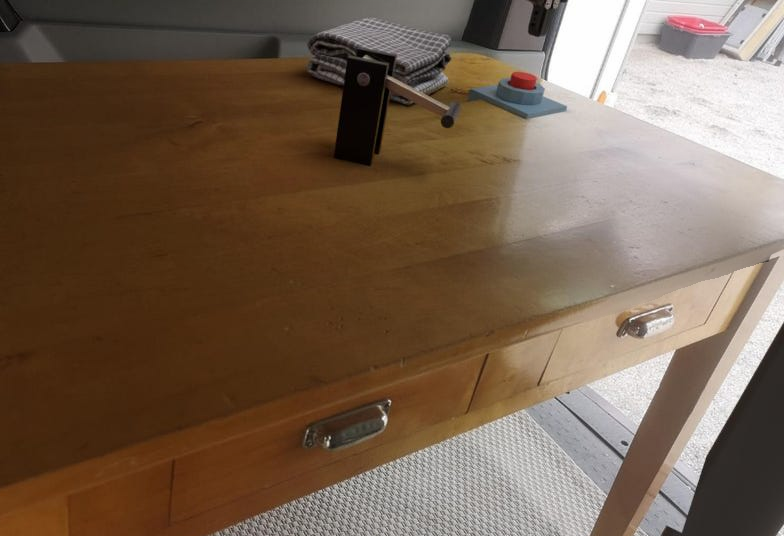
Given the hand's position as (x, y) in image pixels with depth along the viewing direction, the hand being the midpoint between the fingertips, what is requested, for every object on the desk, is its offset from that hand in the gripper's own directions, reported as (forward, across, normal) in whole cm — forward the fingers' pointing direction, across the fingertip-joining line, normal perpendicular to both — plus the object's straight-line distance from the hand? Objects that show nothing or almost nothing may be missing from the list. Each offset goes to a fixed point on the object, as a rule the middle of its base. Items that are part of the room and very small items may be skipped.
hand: (536, 35), depth 107 cm
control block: (+11, 0, 0) cm, 11 cm away
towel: (+11, -12, +18) cm, 24 cm away
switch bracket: (+11, -36, -6) cm, 38 cm away
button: (+7, 0, 0) cm, 7 cm away
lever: (+2, -34, -9) cm, 35 cm away
